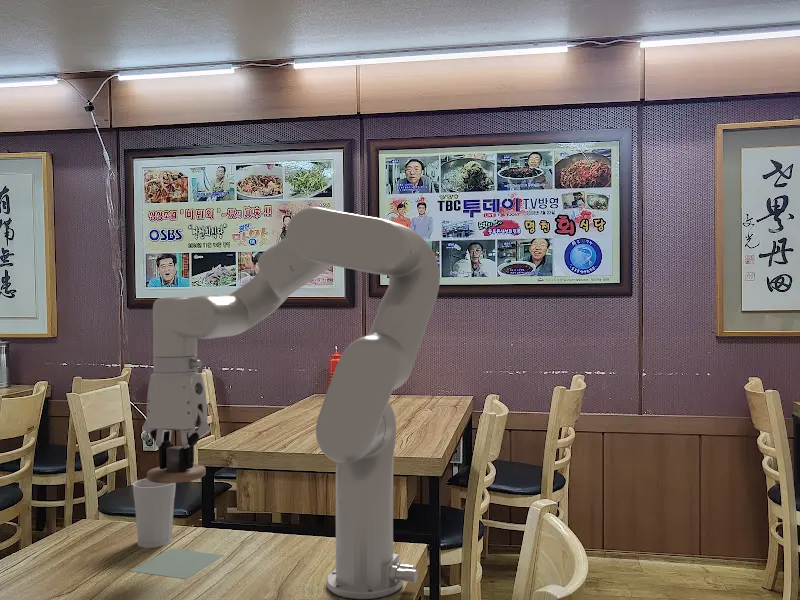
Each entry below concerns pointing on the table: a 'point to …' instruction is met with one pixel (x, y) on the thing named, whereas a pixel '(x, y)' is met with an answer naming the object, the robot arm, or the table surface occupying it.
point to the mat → (177, 563)
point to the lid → (175, 469)
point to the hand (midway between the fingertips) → (176, 467)
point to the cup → (154, 512)
